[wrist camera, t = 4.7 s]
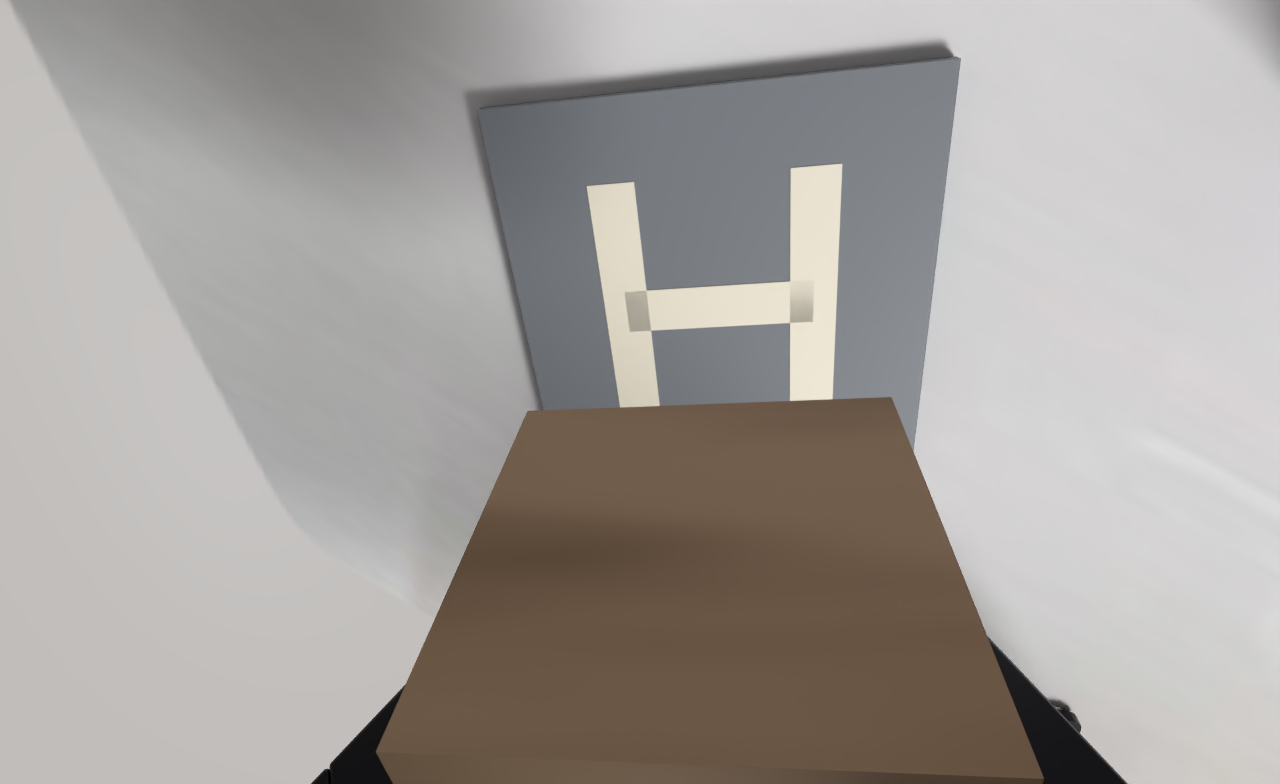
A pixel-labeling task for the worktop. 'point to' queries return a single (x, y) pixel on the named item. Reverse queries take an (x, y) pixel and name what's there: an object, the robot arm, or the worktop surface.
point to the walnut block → (709, 612)
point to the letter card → (729, 236)
